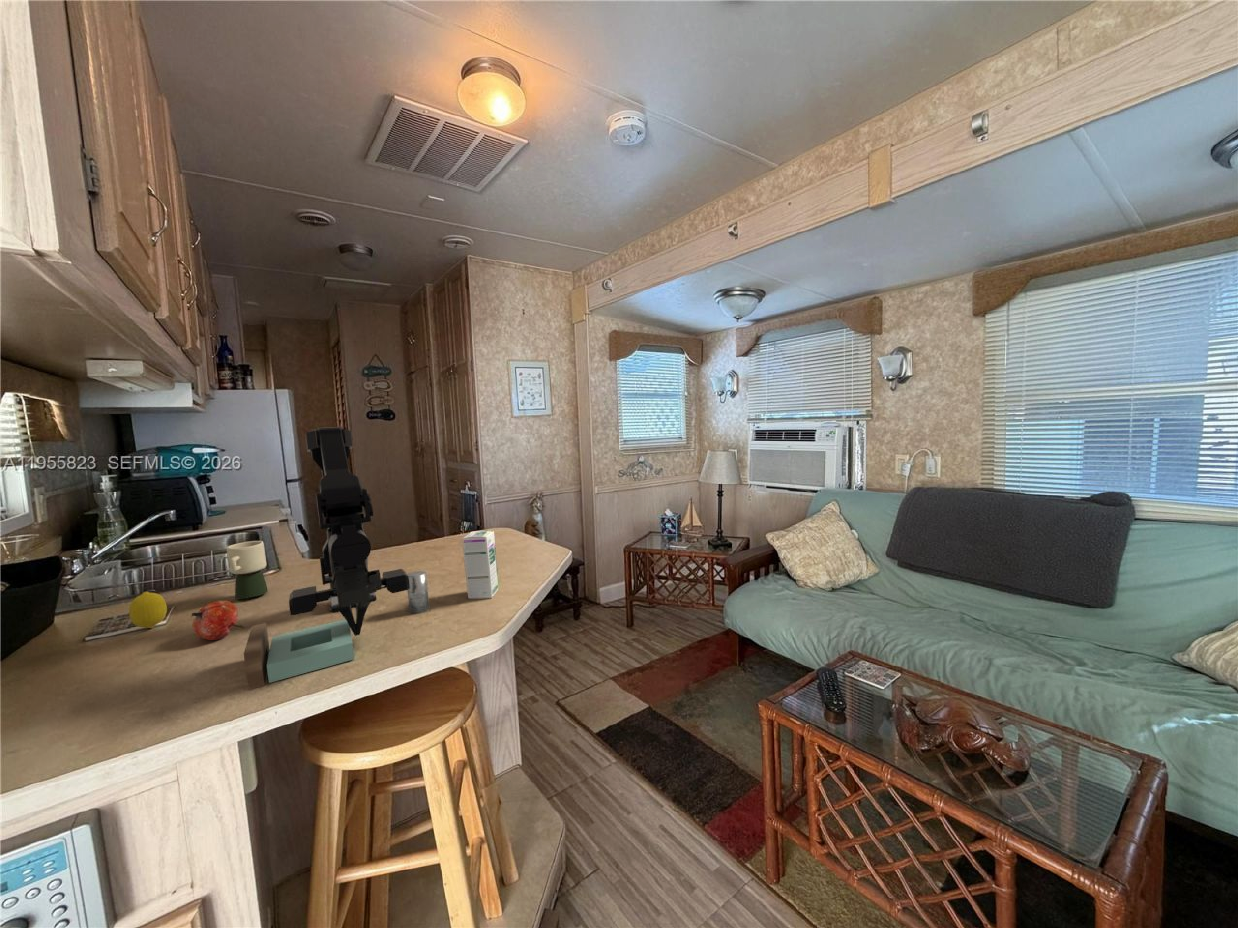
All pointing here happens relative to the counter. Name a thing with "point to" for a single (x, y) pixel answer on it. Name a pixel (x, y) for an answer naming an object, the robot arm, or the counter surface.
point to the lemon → (147, 610)
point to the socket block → (309, 650)
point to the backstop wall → (257, 656)
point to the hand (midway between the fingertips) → (357, 634)
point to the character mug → (248, 568)
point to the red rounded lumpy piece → (215, 620)
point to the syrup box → (480, 564)
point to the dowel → (418, 592)
